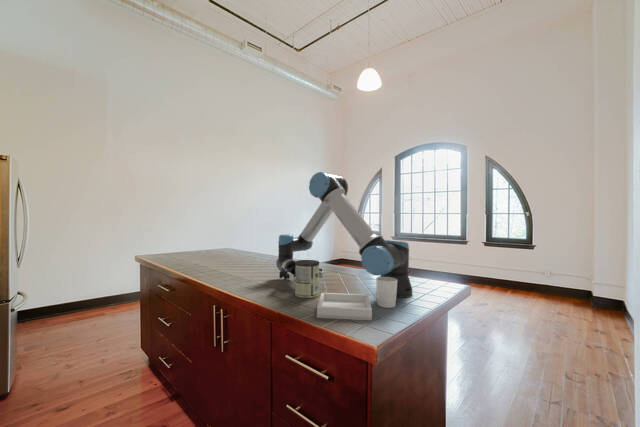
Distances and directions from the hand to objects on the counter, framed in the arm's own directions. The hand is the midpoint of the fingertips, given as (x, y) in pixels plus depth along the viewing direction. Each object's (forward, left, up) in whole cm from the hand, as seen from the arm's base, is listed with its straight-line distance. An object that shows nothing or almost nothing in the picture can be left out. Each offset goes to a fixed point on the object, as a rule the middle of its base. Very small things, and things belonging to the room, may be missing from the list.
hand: (308, 276), depth 121 cm
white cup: (-31, +9, -8) cm, 33 cm away
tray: (-15, +17, -8) cm, 24 cm away
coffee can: (+1, -1, -8) cm, 8 cm away
